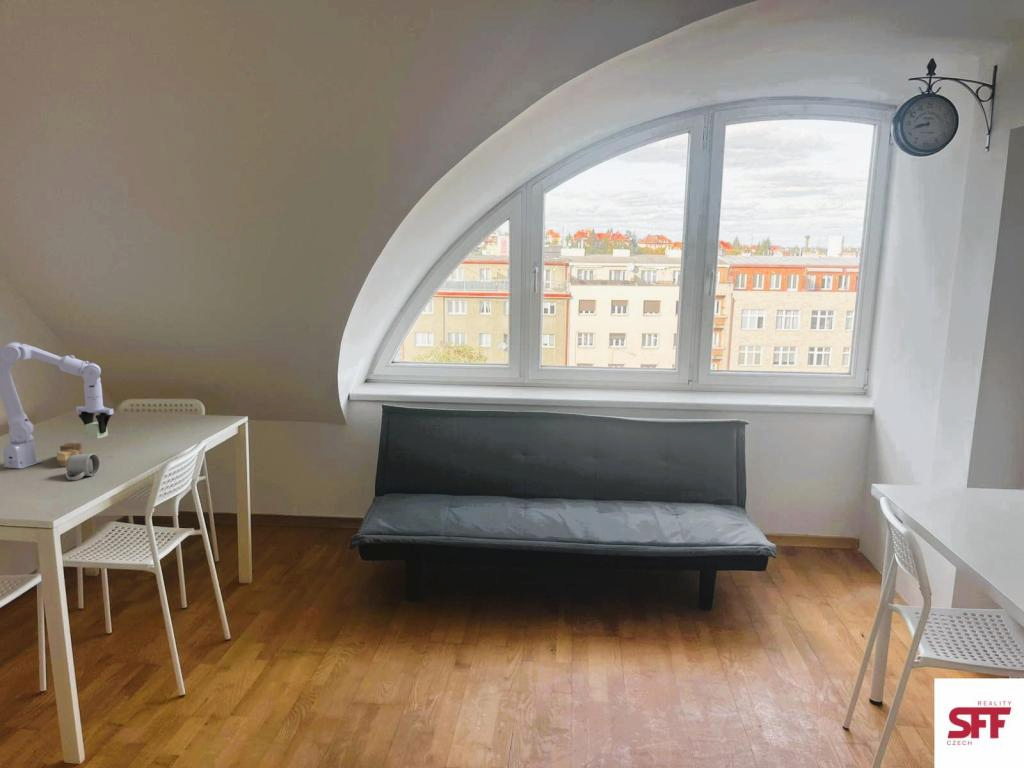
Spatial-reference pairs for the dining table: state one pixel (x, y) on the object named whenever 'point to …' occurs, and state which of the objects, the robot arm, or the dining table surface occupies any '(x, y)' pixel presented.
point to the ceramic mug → (82, 466)
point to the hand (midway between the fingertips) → (96, 432)
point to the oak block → (65, 456)
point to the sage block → (94, 431)
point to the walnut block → (72, 447)
